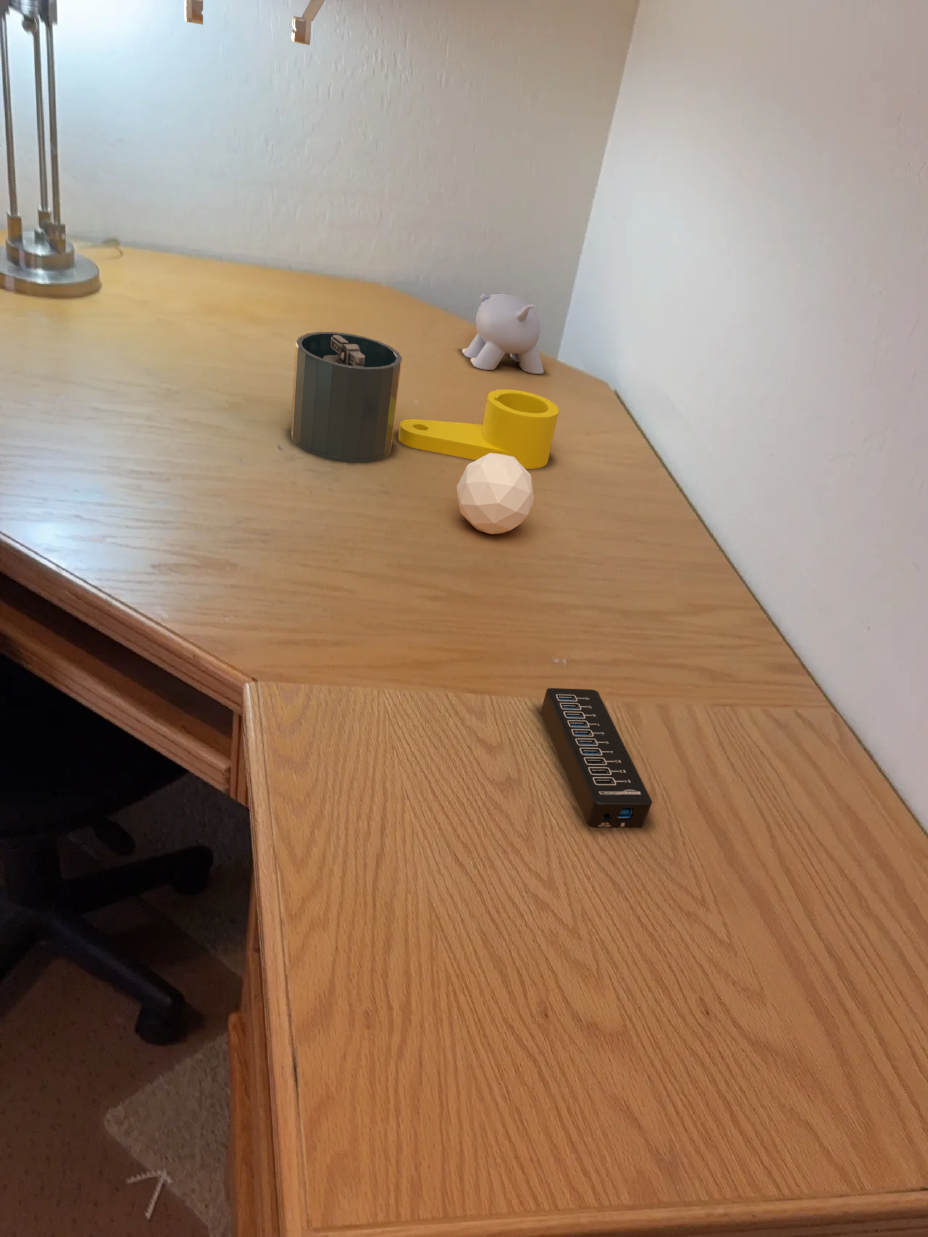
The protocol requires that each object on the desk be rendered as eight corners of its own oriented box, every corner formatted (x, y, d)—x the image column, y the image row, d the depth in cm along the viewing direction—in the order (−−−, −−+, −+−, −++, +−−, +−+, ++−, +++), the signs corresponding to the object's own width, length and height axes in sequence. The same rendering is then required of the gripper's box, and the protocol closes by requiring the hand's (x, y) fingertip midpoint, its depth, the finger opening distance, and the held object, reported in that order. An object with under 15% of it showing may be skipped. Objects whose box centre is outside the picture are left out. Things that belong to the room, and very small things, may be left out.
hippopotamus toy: (517, 345, 159) (529, 275, 153) (551, 381, 149) (566, 308, 143) (449, 338, 156) (459, 267, 149) (480, 375, 146) (492, 300, 139)
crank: (541, 445, 130) (552, 395, 126) (552, 472, 124) (564, 421, 120) (396, 425, 126) (402, 373, 122) (400, 452, 120) (407, 398, 116)
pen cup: (298, 459, 114) (304, 362, 107) (285, 419, 121) (289, 326, 115) (399, 466, 117) (411, 373, 111) (380, 427, 125) (390, 337, 118)
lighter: (371, 450, 118) (381, 356, 111) (344, 452, 116) (353, 357, 109) (338, 422, 122) (346, 330, 116) (311, 423, 120) (318, 330, 114)
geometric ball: (504, 556, 111) (558, 515, 106) (447, 537, 106) (501, 492, 100) (489, 494, 113) (542, 451, 108) (433, 472, 108) (485, 425, 102)
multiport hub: (590, 712, 86) (597, 688, 85) (645, 828, 76) (654, 803, 75) (539, 710, 85) (545, 686, 84) (588, 828, 75) (595, 803, 73)
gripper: (119, -215, 81) (127, 13, 90) (381, -149, 87) (364, 58, 96) (117, -213, 85) (125, 5, 94) (367, -150, 91) (352, 48, 100)
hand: (248, 32), depth 95 cm, fingers open, 8 cm apart
